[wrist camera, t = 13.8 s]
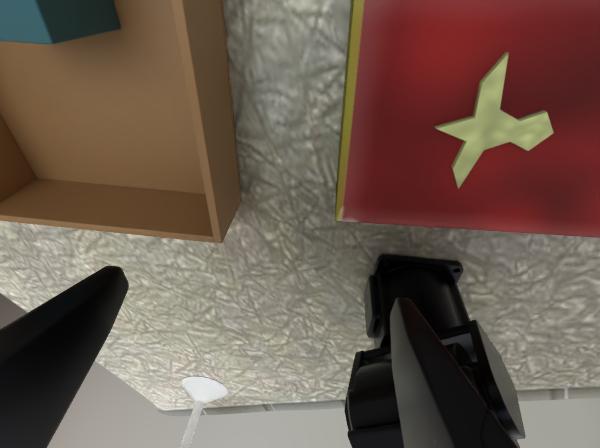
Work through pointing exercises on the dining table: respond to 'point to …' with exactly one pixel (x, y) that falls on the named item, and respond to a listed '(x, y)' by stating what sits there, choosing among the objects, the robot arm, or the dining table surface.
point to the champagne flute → (200, 401)
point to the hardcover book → (472, 115)
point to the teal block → (55, 20)
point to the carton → (123, 126)
